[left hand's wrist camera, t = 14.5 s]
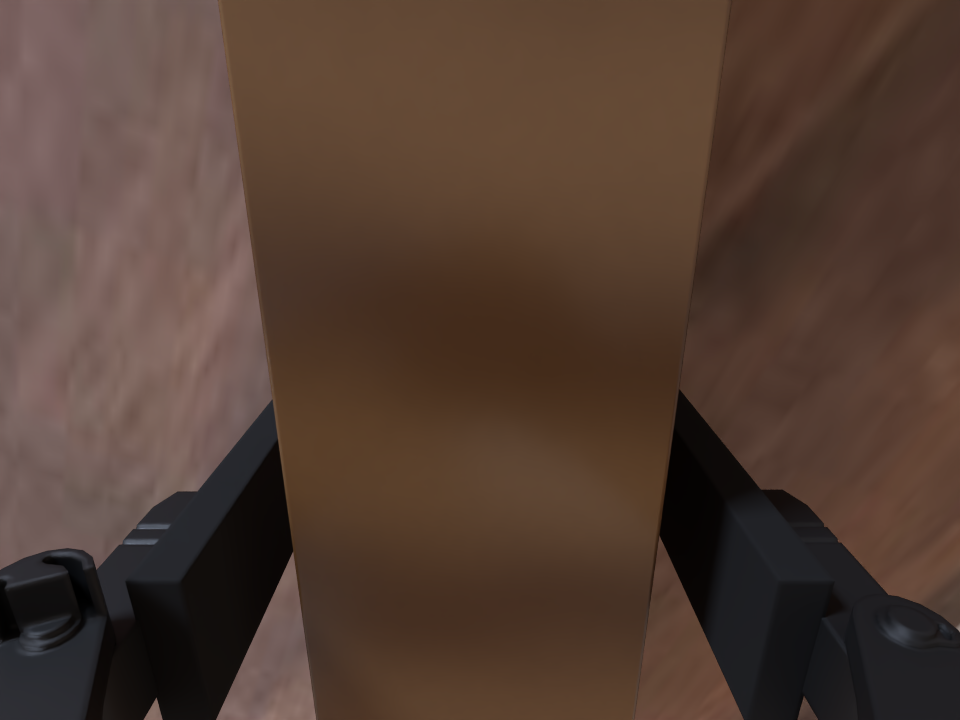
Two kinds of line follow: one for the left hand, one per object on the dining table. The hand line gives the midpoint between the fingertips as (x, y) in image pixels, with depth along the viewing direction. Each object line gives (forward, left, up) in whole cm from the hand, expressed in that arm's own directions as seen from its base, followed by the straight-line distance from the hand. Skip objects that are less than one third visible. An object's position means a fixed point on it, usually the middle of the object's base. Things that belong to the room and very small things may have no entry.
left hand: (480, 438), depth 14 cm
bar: (+18, +13, -2) cm, 22 cm away
